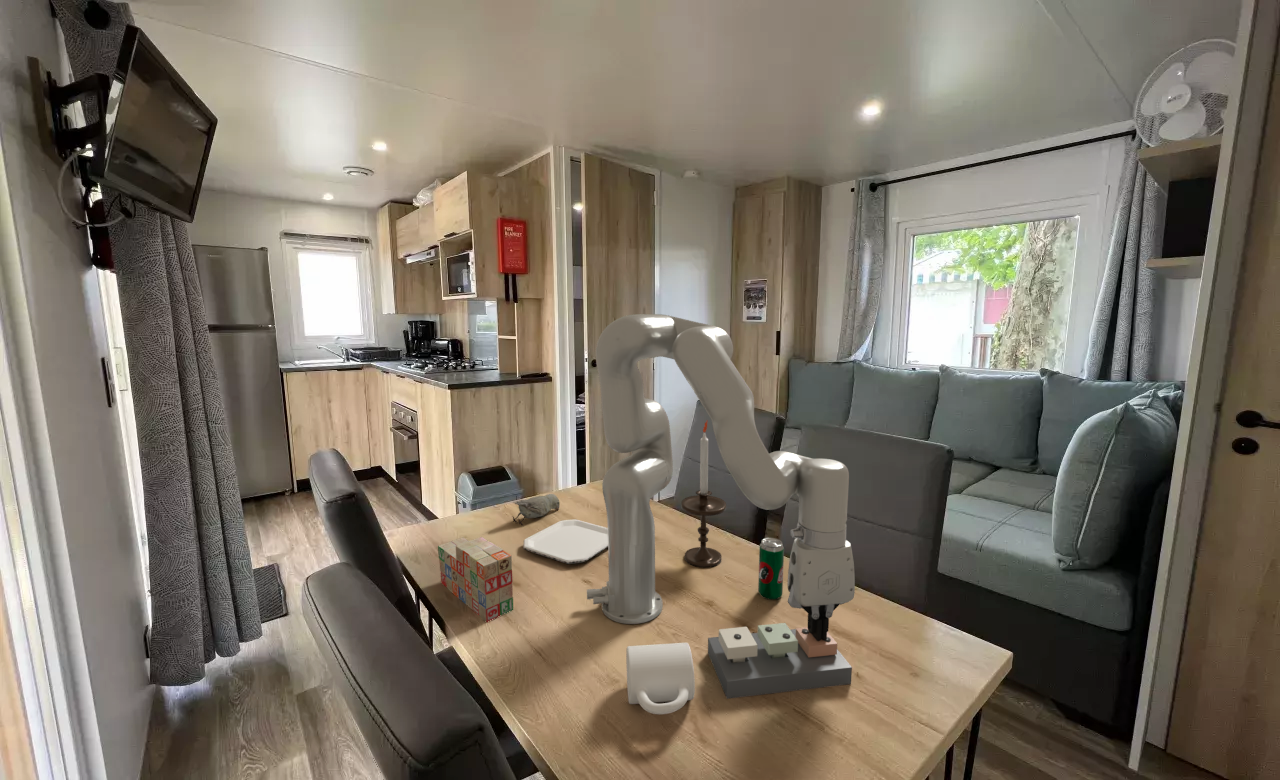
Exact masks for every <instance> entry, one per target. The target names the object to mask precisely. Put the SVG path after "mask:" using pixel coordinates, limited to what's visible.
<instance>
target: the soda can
mask: <svg viewBox="0 0 1280 780" xmlns="http://www.w3.org/2000/svg"><path fill="white" fill-rule="evenodd" d="M758 550H759V551H758V554H759V555H758V583H757V585H758V590H757V591H758V594H759V595H760V596H761V597H762V598H764V599H765V600H771V601H774V600H779V599H780V598H782V596H783V588H784V585H783V584H784V562H785V559H784V557H785V548H784V545H783V541H782V540H780V539H779V538H774V537H764V538H763V539H761V543H760V544H759V549H758Z"/></svg>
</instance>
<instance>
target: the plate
mask: <svg viewBox="0 0 1280 780" xmlns="http://www.w3.org/2000/svg"><path fill="white" fill-rule="evenodd" d="M606 549H608V527H606V526H602V525H598V524H594V523H591V522H587V521H583V520H579V519H576V518H575V519H564V520H559V521H558V522H555V523H553V524H551V525H550V526H548V527H546V528H543V529H542V530H540V531H538V532H536V533H534V534H532V535H531V536H528V537H526V538H525V539H524V540H523V550H526V551H529V552H531V553H533V554H537V555H540V556H543V557H545V558H548V559H552V560H554V561H557V562H561V563H563V564H566V565H573V564H574V565H575V564H581V563H585V562H587V561H588V560H589V559H591V558H594V556H596V555H597V554H599V553H601V552H602V551H603V550H606Z"/></svg>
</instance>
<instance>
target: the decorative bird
mask: <svg viewBox="0 0 1280 780" xmlns="http://www.w3.org/2000/svg"><path fill="white" fill-rule="evenodd" d="M512 503H514V504H515V505H516V506H518V511H519V512H518V514H517V516H516V517H514V516H513V515H512V516H511V517H512V520H513V522H515V523H516V524H517V525H521V526H524V524H523V523H522V522H524V520H525V518H526V519H536V518H540V517H544V516H545V515H546V514H548V513H549V512H550V511H551V510H556V511H559V510H560V503H561V502H560V499H559V497H558V496H557V495H556V494H554V493H549V494H546V495H539V496H534V497H530V498H528V499H520V500H517V501H513V502H512ZM520 515H522V516H523V518H522V519H520V518H519V516H520ZM517 519H518V521H517ZM518 523H519V524H518Z"/></svg>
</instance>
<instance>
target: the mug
mask: <svg viewBox="0 0 1280 780" xmlns="http://www.w3.org/2000/svg"><path fill="white" fill-rule="evenodd" d="M625 653H626V660H625V661H626V662H625V663H626V683H627V684H626V686H627V699H628V704H629V705H636V704H639V705H640V707H641V708H642V709H643V710H645V711H646V712H647V713H649V714H653V715H668V714H671V713H674V712H676V711H679V710H681V708H683V707H684V706H685V705H686V704H687V701H693V699H694V698H695V691H696V690H695V689H696V687H695V686H696V685H695V684H696V682H695V679H696V678H695V668H694V660H693V654H692V649H691V647H690V644H689V642H676V643H675V642H674V643H673V642H672V643H658V644H642V645H627V646H626V652H625ZM664 702H665V703H664Z"/></svg>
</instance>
